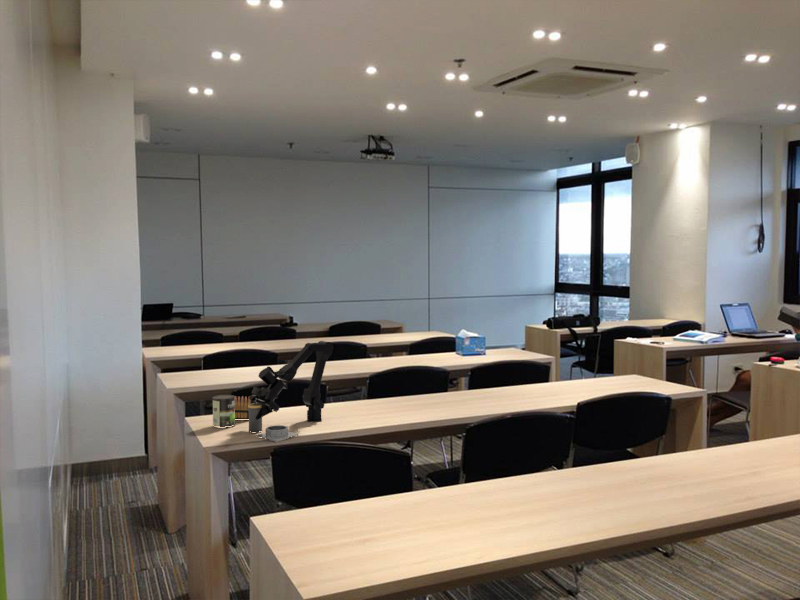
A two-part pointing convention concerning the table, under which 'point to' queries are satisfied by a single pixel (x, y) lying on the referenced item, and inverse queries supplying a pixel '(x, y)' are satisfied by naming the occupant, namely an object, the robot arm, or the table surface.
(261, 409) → the robot arm
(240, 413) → the ammunition clip
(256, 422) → the grey cylindrical piece
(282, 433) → the duct collar
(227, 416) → the coffee can
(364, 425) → the table surface
